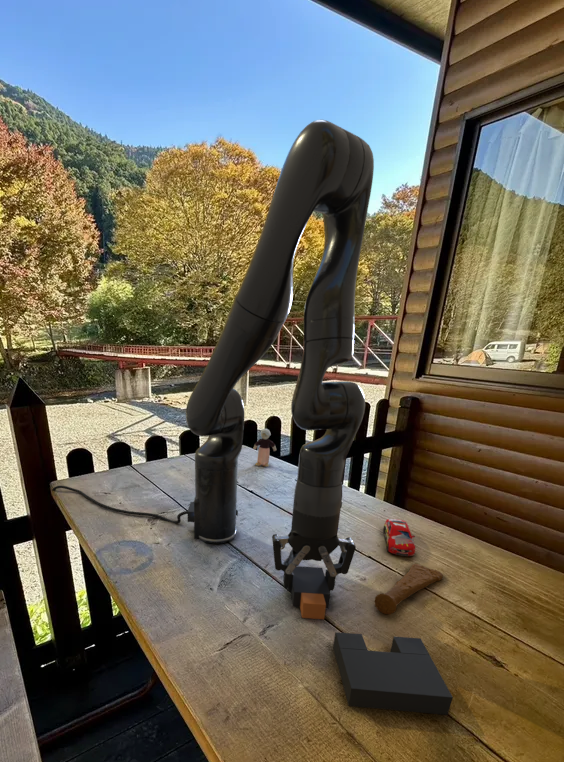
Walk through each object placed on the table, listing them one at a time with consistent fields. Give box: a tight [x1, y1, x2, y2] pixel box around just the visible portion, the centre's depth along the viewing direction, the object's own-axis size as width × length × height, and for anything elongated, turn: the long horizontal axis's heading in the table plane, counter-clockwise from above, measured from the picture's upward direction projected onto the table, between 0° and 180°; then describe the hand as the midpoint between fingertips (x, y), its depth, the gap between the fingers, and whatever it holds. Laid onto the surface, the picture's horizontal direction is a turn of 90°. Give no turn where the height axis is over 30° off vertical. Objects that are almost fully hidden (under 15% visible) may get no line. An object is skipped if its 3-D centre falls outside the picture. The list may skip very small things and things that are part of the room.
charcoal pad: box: [289, 565, 331, 620], centre depth 72 cm, size 6×11×3 cm, turn 173°
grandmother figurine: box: [252, 428, 277, 468], centre depth 136 cm, size 8×4×13 cm, turn 81°
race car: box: [382, 518, 416, 557], centre depth 89 cm, size 13×5×4 cm, turn 160°
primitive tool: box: [374, 563, 444, 615], centre depth 73 cm, size 19×6×4 cm, turn 133°
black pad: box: [332, 631, 454, 716], centre depth 56 cm, size 12×10×3 cm
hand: (307, 589), depth 74 cm, fingers closed on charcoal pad, 6 cm apart
